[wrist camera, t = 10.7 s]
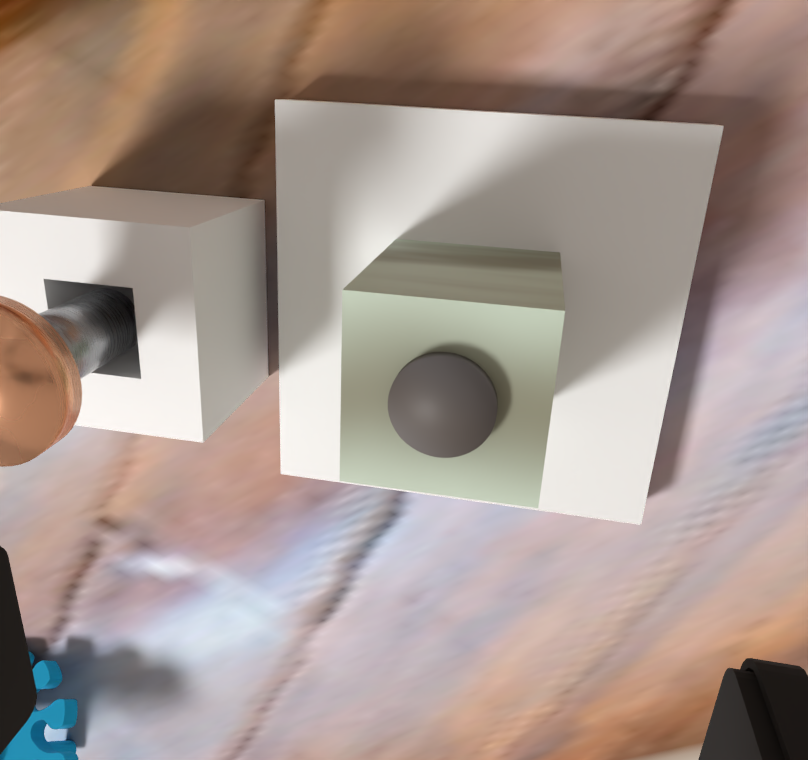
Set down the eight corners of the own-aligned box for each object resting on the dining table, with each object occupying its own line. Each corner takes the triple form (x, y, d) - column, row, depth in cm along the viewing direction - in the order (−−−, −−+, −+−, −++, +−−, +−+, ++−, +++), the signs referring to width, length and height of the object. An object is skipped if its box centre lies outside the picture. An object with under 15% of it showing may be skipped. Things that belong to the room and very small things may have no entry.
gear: (80, 653, 34) (21, 903, 31) (160, 659, 39) (118, 875, 36) (-77, 640, 38) (-147, 859, 35) (14, 647, 43) (-38, 839, 40)
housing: (396, 238, 24) (338, 294, 18) (560, 252, 23) (565, 315, 17) (389, 387, 26) (335, 488, 20) (540, 405, 26) (537, 516, 19)
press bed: (78, 86, 26) (-47, 84, 20) (713, 123, 23) (766, 132, 17) (117, 432, 31) (26, 504, 26) (636, 503, 28) (658, 603, 22)
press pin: (40, 247, 23) (-118, 295, 18) (168, 260, 22) (45, 313, 17) (58, 374, 25) (-82, 454, 19) (177, 389, 24) (68, 476, 19)
